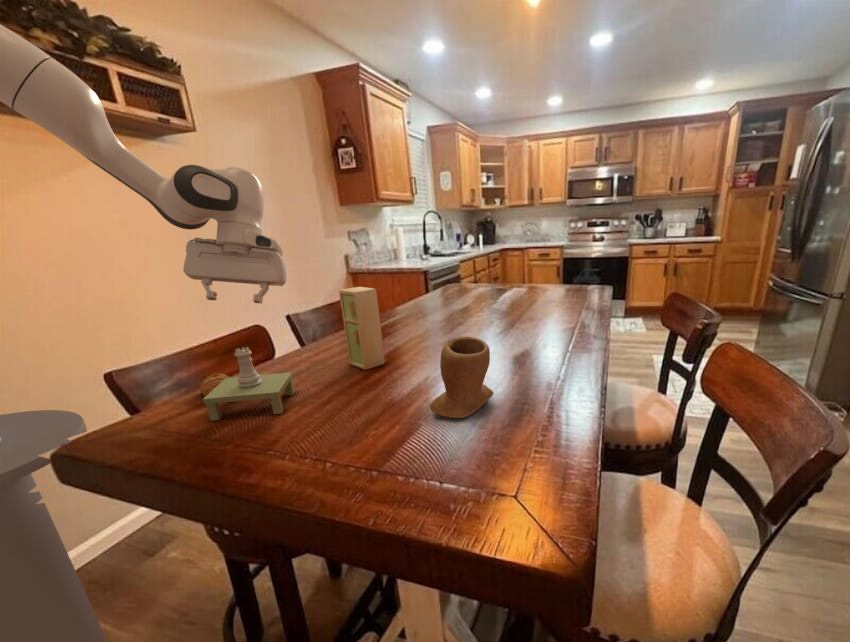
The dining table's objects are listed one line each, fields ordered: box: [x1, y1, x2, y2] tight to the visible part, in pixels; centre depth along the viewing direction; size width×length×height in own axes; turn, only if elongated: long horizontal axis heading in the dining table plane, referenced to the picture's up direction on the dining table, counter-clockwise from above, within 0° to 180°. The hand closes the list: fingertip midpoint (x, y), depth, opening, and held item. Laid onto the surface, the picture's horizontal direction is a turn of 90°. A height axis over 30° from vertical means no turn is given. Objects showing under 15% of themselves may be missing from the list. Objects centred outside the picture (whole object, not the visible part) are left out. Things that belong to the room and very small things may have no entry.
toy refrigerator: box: [338, 286, 386, 371], centre depth 109 cm, size 8×7×21 cm
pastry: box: [199, 372, 230, 398], centre depth 95 cm, size 9×7×4 cm
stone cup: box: [428, 336, 494, 419], centre depth 83 cm, size 15×12×15 cm
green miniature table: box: [202, 371, 295, 422], centre depth 88 cm, size 14×12×5 cm
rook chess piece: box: [234, 346, 261, 388], centre depth 86 cm, size 4×4×8 cm
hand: (234, 301), depth 91 cm, fingers open, 8 cm apart
